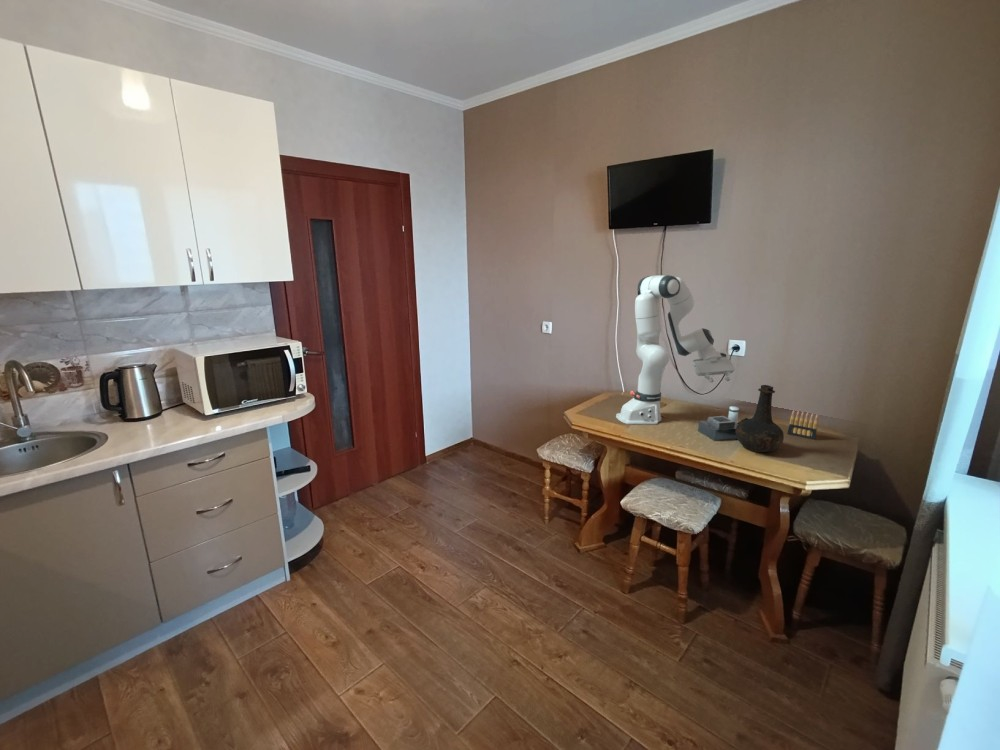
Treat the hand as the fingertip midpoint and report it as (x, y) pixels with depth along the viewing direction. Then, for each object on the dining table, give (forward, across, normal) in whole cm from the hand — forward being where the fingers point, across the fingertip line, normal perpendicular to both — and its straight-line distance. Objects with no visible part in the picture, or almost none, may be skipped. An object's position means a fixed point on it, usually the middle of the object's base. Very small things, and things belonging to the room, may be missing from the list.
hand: (720, 381), depth 222 cm
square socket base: (+29, -15, -3) cm, 33 cm away
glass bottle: (+41, -9, -14) cm, 44 cm away
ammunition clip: (+36, +20, -8) cm, 42 cm away
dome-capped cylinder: (+22, -1, +4) cm, 23 cm away
